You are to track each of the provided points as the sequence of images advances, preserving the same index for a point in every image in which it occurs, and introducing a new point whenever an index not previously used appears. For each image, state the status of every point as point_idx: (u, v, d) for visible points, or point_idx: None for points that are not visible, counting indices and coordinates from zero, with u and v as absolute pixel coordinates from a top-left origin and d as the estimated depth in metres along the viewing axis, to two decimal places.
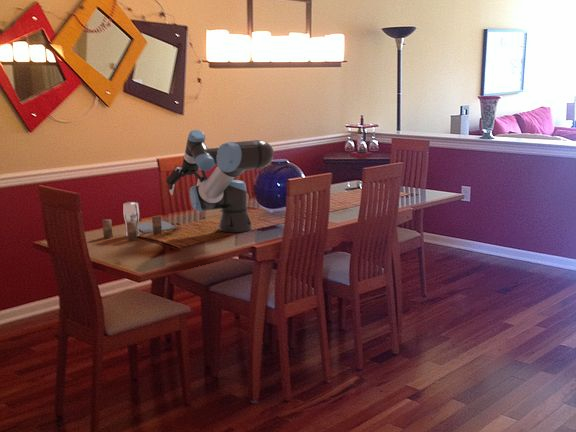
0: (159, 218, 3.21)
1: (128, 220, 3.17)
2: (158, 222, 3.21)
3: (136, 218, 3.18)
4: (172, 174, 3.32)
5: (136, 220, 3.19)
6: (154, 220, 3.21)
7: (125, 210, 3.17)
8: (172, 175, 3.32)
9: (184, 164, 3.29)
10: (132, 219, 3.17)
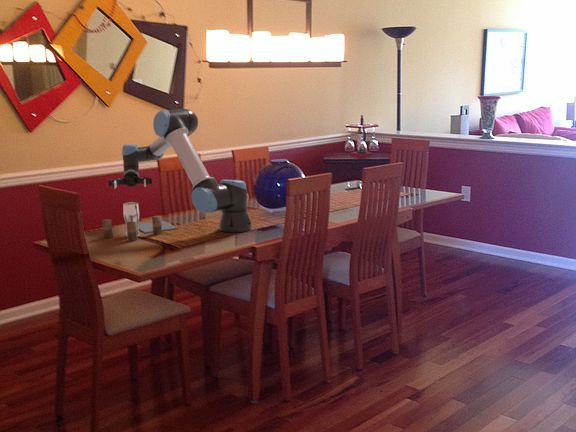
0: (159, 218, 3.21)
1: (128, 220, 3.17)
2: (158, 222, 3.21)
3: (136, 218, 3.18)
4: None
5: (136, 220, 3.19)
6: (154, 220, 3.21)
7: (125, 210, 3.17)
8: None
9: (123, 177, 3.44)
10: (132, 219, 3.17)
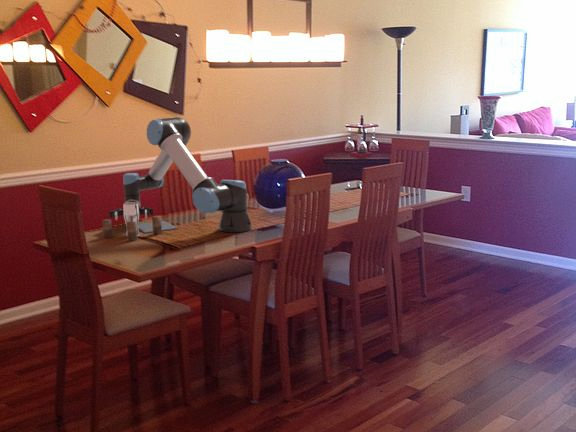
0: (159, 218, 3.21)
1: (128, 220, 3.17)
2: (158, 222, 3.21)
3: (136, 218, 3.18)
4: None
5: (136, 220, 3.19)
6: (154, 220, 3.21)
7: (125, 210, 3.17)
8: None
9: None
10: (132, 219, 3.17)
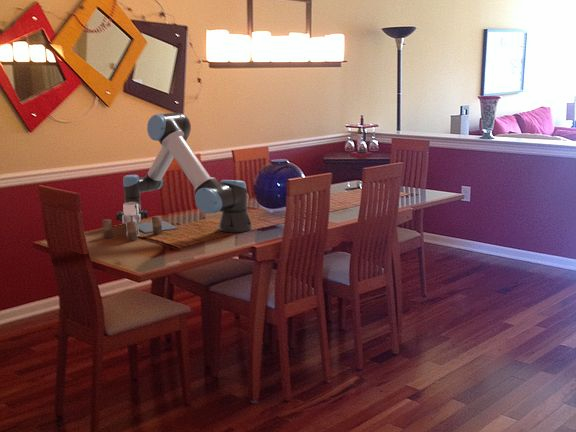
0: (159, 218, 3.21)
1: (128, 220, 3.17)
2: (158, 222, 3.21)
3: (136, 218, 3.18)
4: None
5: (136, 220, 3.19)
6: (154, 220, 3.21)
7: (125, 210, 3.17)
8: None
9: None
10: (132, 219, 3.17)
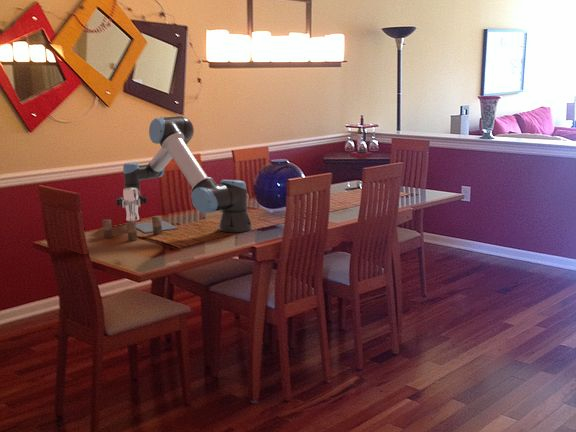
0: (159, 218, 3.21)
1: (128, 205, 3.29)
2: (158, 222, 3.21)
3: (136, 203, 3.30)
4: None
5: (136, 205, 3.30)
6: (154, 220, 3.21)
7: (125, 195, 3.28)
8: None
9: None
10: (132, 204, 3.29)
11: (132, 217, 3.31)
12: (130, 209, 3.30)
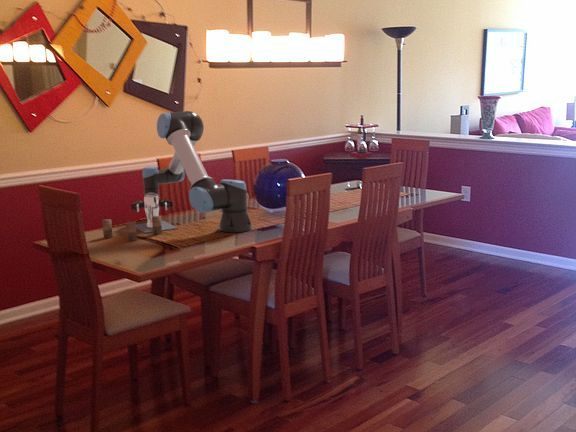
0: (159, 218, 3.21)
1: (149, 212, 3.32)
2: (158, 222, 3.21)
3: (156, 210, 3.33)
4: None
5: (156, 212, 3.33)
6: (154, 220, 3.21)
7: (146, 202, 3.31)
8: None
9: None
10: (152, 211, 3.32)
11: None
12: (151, 216, 3.33)
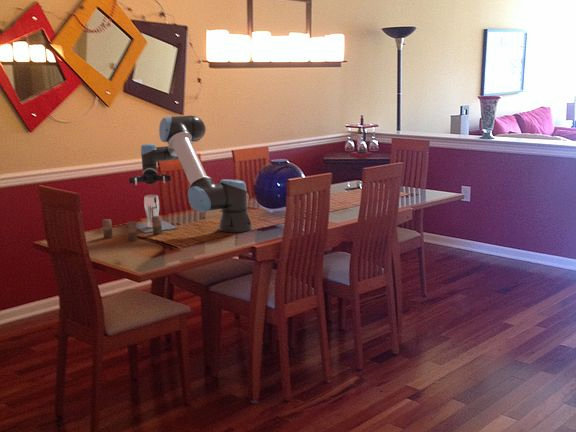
0: (159, 218, 3.21)
1: (149, 212, 3.32)
2: (158, 222, 3.21)
3: (156, 210, 3.33)
4: None
5: (156, 212, 3.33)
6: (154, 220, 3.21)
7: (146, 202, 3.31)
8: None
9: (142, 175, 3.60)
10: (153, 211, 3.32)
11: None
12: (151, 216, 3.33)
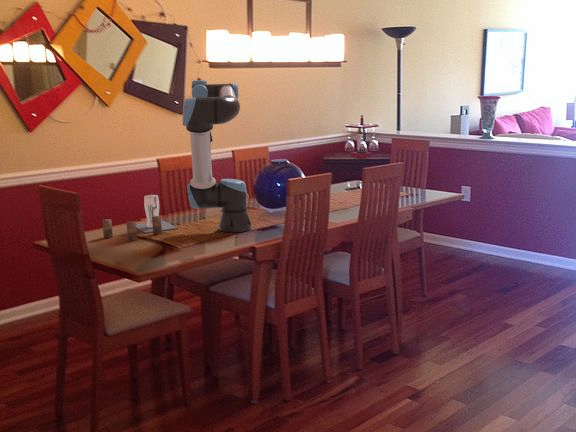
0: (159, 218, 3.21)
1: (149, 212, 3.32)
2: (158, 222, 3.21)
3: (156, 210, 3.33)
4: None
5: (156, 212, 3.33)
6: (154, 220, 3.21)
7: (146, 202, 3.31)
8: None
9: None
10: (153, 211, 3.32)
11: None
12: (151, 216, 3.33)
